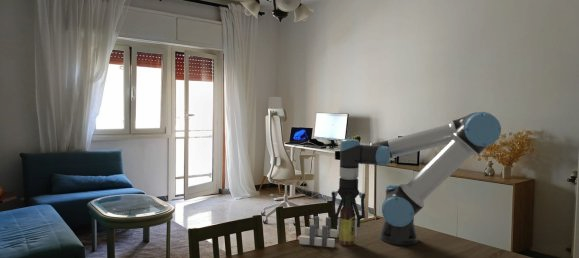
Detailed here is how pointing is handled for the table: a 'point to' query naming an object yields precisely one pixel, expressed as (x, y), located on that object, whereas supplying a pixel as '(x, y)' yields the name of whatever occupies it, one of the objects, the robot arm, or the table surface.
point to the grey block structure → (319, 234)
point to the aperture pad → (302, 235)
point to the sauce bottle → (347, 223)
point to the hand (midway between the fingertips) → (347, 234)
